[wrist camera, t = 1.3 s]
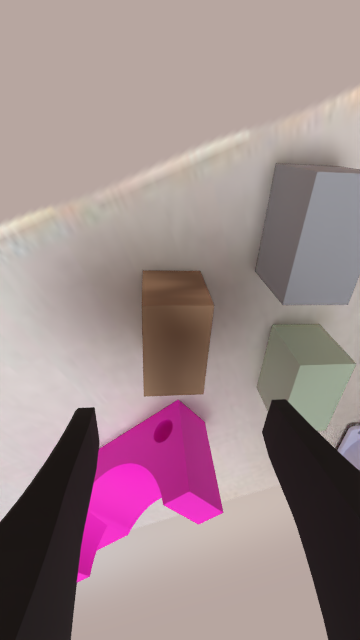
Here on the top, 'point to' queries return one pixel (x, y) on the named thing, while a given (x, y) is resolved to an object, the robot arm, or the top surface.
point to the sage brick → (305, 371)
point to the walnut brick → (175, 332)
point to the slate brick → (311, 235)
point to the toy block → (150, 478)
